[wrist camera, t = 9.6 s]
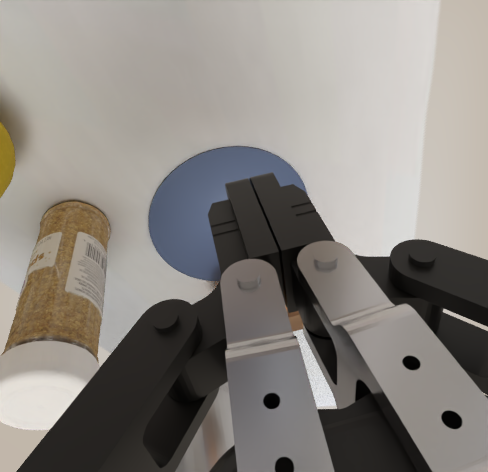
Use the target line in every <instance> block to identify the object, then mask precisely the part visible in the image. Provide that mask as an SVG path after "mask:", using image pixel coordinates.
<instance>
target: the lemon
mask: <svg viewBox="0 0 488 472" xmlns="http://www.w3.org/2000/svg"><path fill="white" fill-rule="evenodd" d="M14 168H15V151H14V145H13V143H12V140H11V138H10V135H9V133H8V132H7V130H6V129H5V127H4V126H3V125H2V123H1V122H0V197H1V196H2V195H3V193H4V192H5V190H6V189H7V187H8V186H9V184H10V182H11V180H12V176H13V172H14Z"/></svg>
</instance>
